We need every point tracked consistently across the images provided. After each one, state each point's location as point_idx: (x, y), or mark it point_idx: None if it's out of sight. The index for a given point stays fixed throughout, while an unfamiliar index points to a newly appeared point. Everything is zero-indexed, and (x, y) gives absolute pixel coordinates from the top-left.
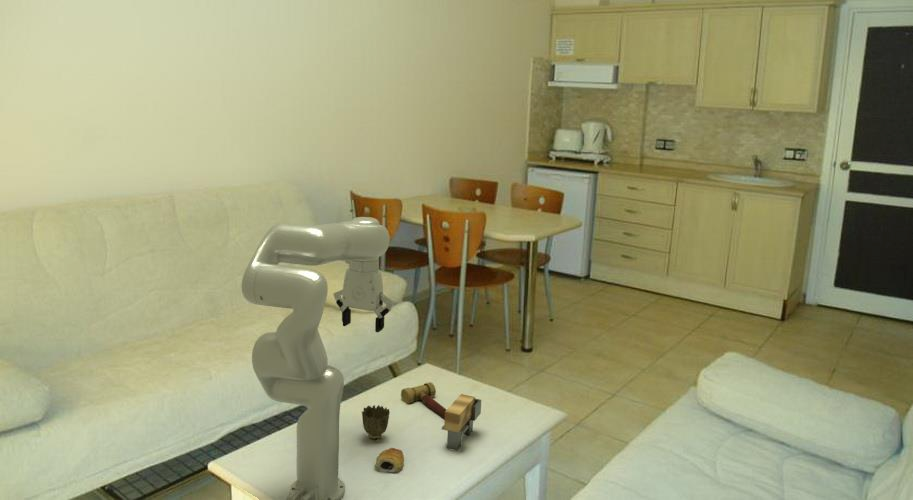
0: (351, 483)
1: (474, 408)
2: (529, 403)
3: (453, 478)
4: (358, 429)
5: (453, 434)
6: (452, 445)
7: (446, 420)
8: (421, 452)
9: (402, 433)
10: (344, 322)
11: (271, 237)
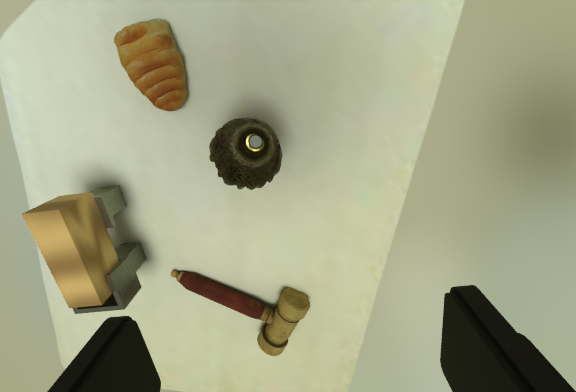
0: None
1: None
2: None
3: (30, 93)
4: (307, 152)
5: None
6: (103, 189)
7: (70, 200)
8: (145, 145)
9: (223, 188)
10: (474, 314)
11: None
